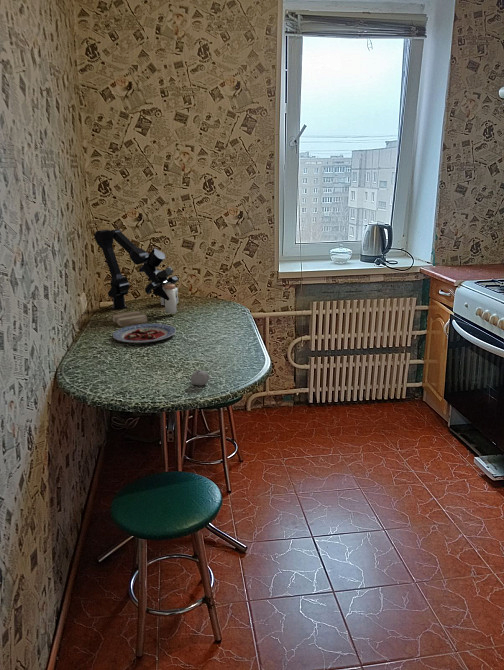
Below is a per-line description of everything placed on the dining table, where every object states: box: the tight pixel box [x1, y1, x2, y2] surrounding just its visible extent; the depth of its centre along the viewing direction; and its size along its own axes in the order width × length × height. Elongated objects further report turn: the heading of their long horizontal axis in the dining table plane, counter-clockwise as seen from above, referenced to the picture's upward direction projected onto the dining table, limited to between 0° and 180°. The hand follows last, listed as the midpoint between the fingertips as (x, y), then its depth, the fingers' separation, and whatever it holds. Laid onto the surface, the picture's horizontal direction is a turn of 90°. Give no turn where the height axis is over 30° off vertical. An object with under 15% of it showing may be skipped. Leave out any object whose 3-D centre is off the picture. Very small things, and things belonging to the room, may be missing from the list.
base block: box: [112, 310, 148, 328], centre depth 245 cm, size 12×12×3 cm
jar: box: [163, 283, 178, 314], centre depth 253 cm, size 5×5×13 cm
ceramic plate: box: [112, 323, 177, 344], centre depth 223 cm, size 26×26×3 cm
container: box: [160, 277, 179, 306], centre depth 276 cm, size 8×8×13 cm
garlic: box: [190, 369, 210, 386], centre depth 171 cm, size 6×5×5 cm
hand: (172, 298), depth 252 cm, fingers closed on jar, 5 cm apart
